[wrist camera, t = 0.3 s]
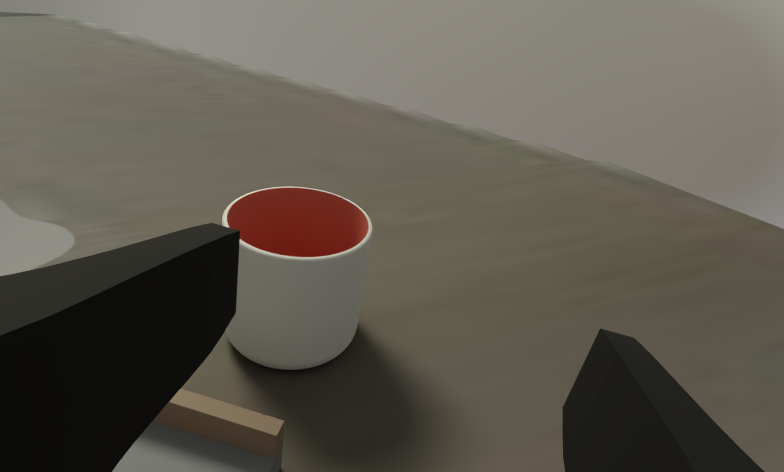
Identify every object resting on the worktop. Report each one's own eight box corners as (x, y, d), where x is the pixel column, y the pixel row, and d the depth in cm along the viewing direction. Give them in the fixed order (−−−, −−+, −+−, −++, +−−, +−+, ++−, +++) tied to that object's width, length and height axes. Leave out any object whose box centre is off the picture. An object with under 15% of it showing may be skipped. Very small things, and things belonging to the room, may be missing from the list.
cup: (276, 402, 33) (284, 279, 28) (197, 321, 38) (192, 205, 33) (381, 338, 39) (402, 230, 34) (302, 277, 45) (311, 176, 40)
